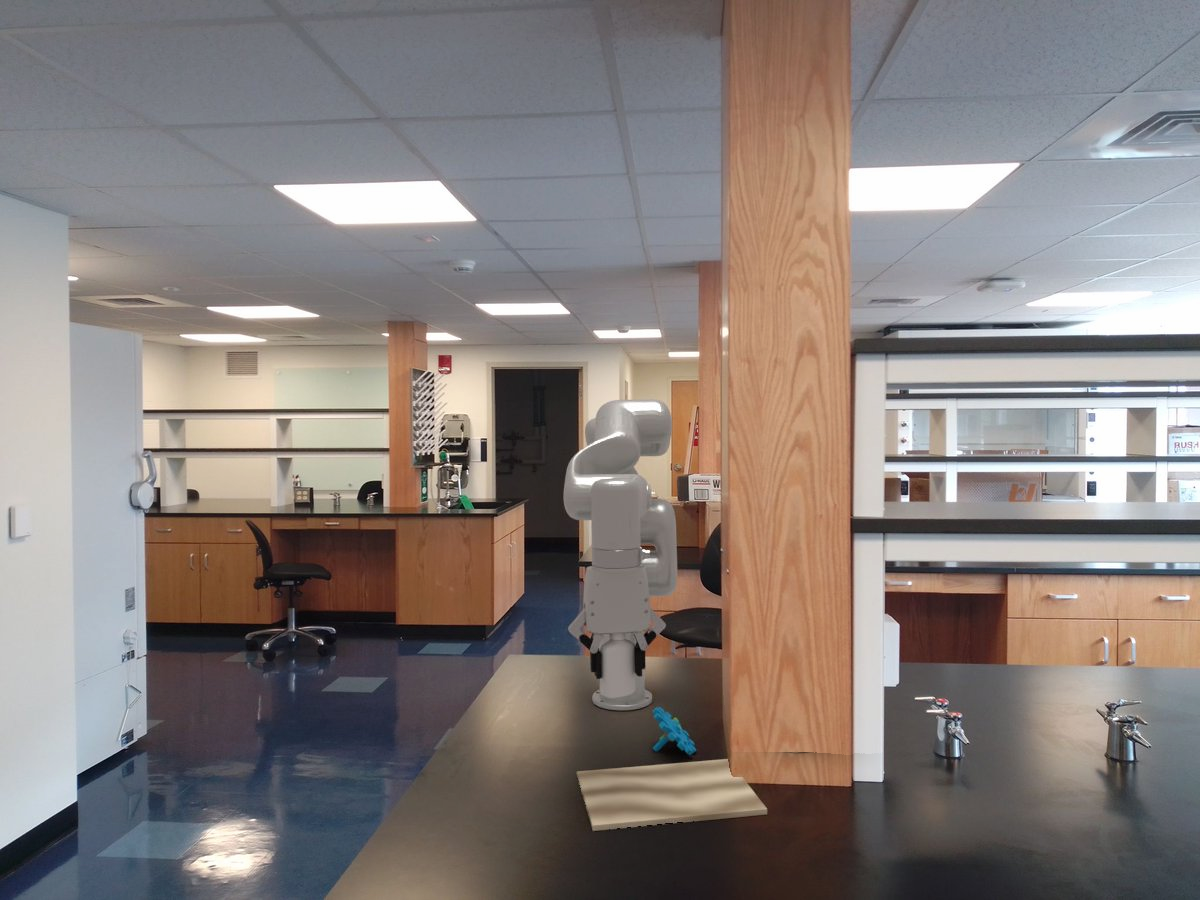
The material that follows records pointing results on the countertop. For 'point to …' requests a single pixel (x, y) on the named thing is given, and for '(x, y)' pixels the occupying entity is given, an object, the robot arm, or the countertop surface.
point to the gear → (672, 732)
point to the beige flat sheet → (666, 794)
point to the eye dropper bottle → (617, 667)
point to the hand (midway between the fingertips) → (618, 674)
